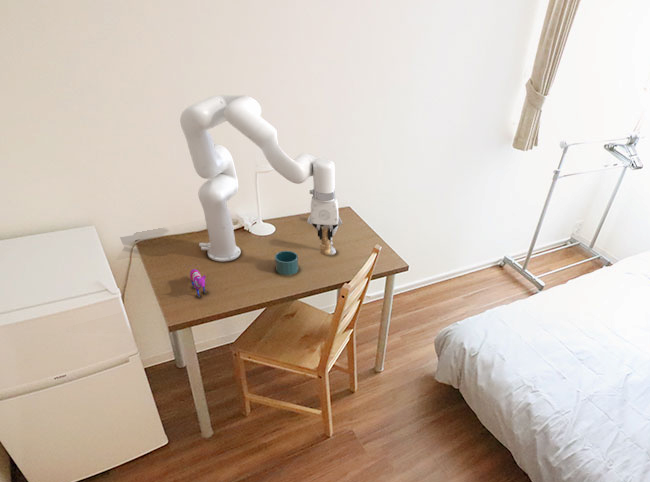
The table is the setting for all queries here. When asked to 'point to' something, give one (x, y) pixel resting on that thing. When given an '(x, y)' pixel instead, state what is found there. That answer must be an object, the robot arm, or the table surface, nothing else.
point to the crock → (286, 262)
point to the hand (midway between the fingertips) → (325, 237)
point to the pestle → (325, 241)
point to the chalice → (332, 239)
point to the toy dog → (197, 280)
